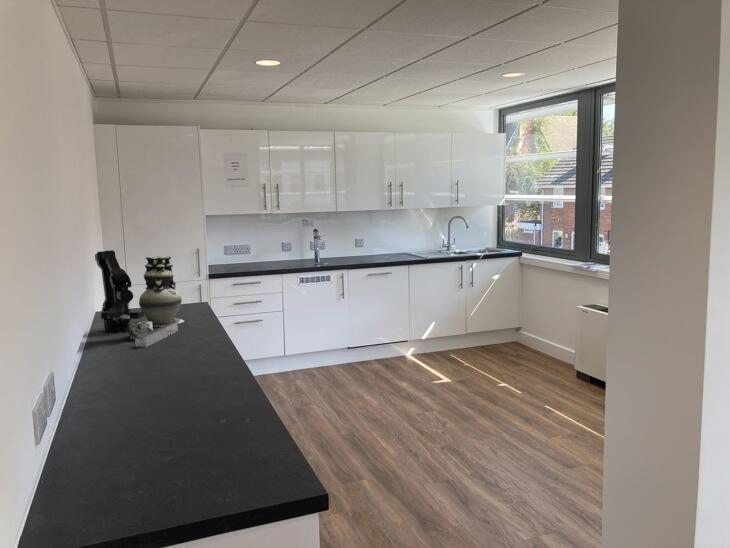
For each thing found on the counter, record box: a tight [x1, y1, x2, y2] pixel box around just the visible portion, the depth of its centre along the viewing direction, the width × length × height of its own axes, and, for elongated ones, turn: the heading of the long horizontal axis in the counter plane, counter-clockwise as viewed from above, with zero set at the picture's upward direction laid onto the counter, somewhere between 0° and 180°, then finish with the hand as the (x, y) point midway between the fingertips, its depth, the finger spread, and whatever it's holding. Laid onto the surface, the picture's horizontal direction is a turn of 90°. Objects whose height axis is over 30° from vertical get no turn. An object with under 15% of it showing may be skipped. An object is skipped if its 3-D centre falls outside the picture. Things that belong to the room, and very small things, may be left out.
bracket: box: [134, 321, 179, 348], centre depth 273 cm, size 6×29×5 cm, turn 171°
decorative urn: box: [138, 255, 185, 328], centre depth 306 cm, size 21×21×35 cm
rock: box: [128, 322, 154, 341], centre depth 277 cm, size 15×10×7 cm
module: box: [138, 320, 154, 330], centre depth 289 cm, size 6×4×5 cm, turn 91°
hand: (123, 332), depth 276 cm, fingers closed
